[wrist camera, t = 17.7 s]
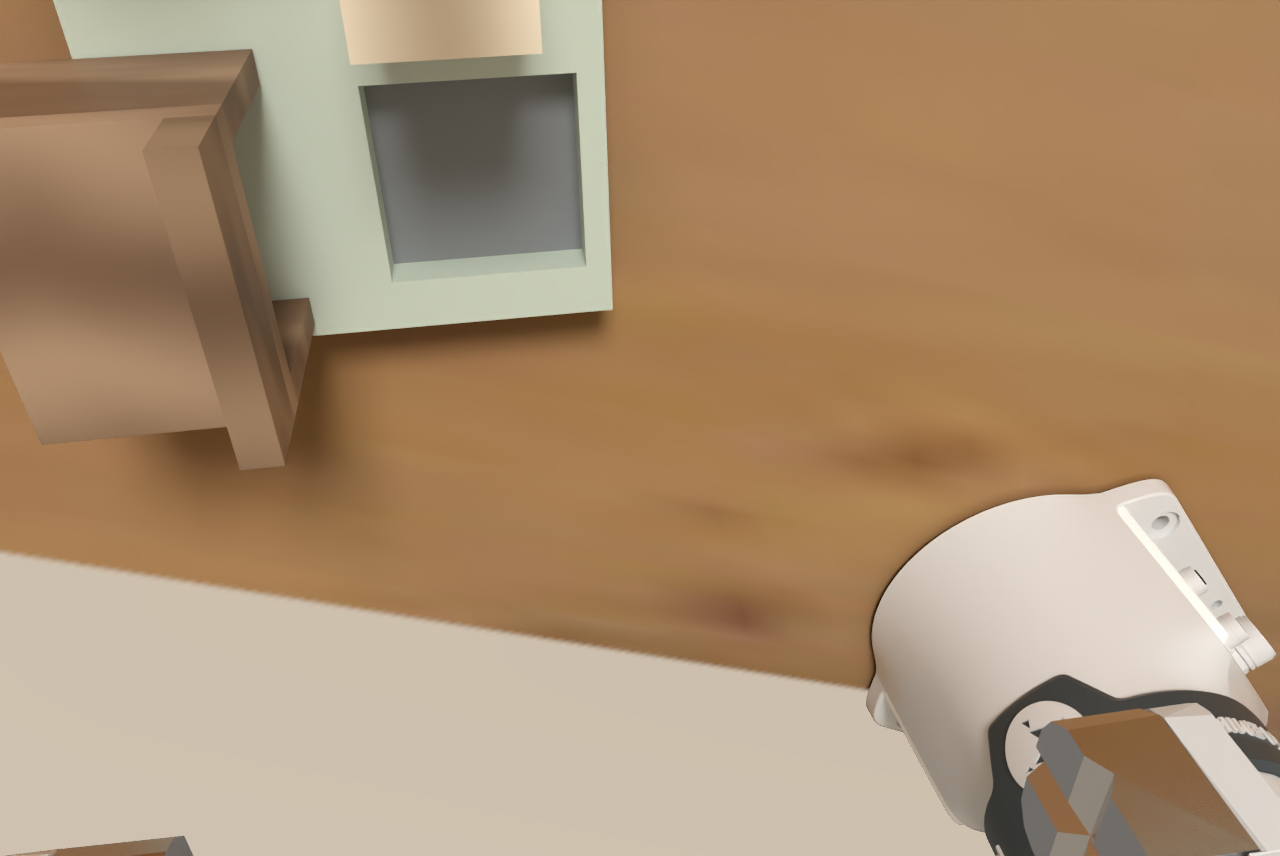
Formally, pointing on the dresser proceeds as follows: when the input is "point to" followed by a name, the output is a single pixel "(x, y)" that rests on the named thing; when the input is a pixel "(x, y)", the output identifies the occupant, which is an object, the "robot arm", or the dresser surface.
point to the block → (439, 29)
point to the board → (403, 161)
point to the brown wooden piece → (140, 256)
